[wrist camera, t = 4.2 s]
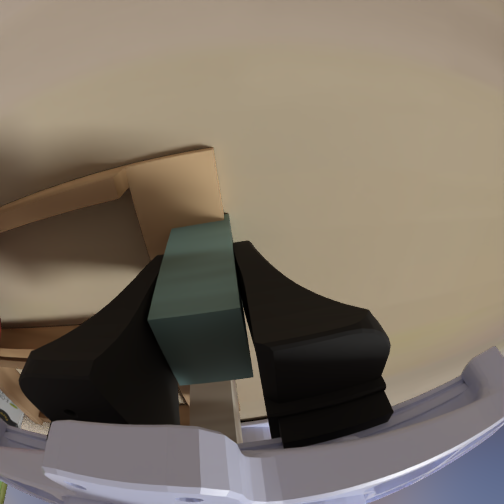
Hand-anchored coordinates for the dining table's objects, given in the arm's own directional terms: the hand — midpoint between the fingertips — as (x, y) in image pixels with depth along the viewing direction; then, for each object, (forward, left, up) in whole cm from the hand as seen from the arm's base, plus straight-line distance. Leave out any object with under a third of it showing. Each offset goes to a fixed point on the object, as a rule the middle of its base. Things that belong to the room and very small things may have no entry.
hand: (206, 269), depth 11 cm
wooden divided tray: (0, +9, -2) cm, 9 cm away
